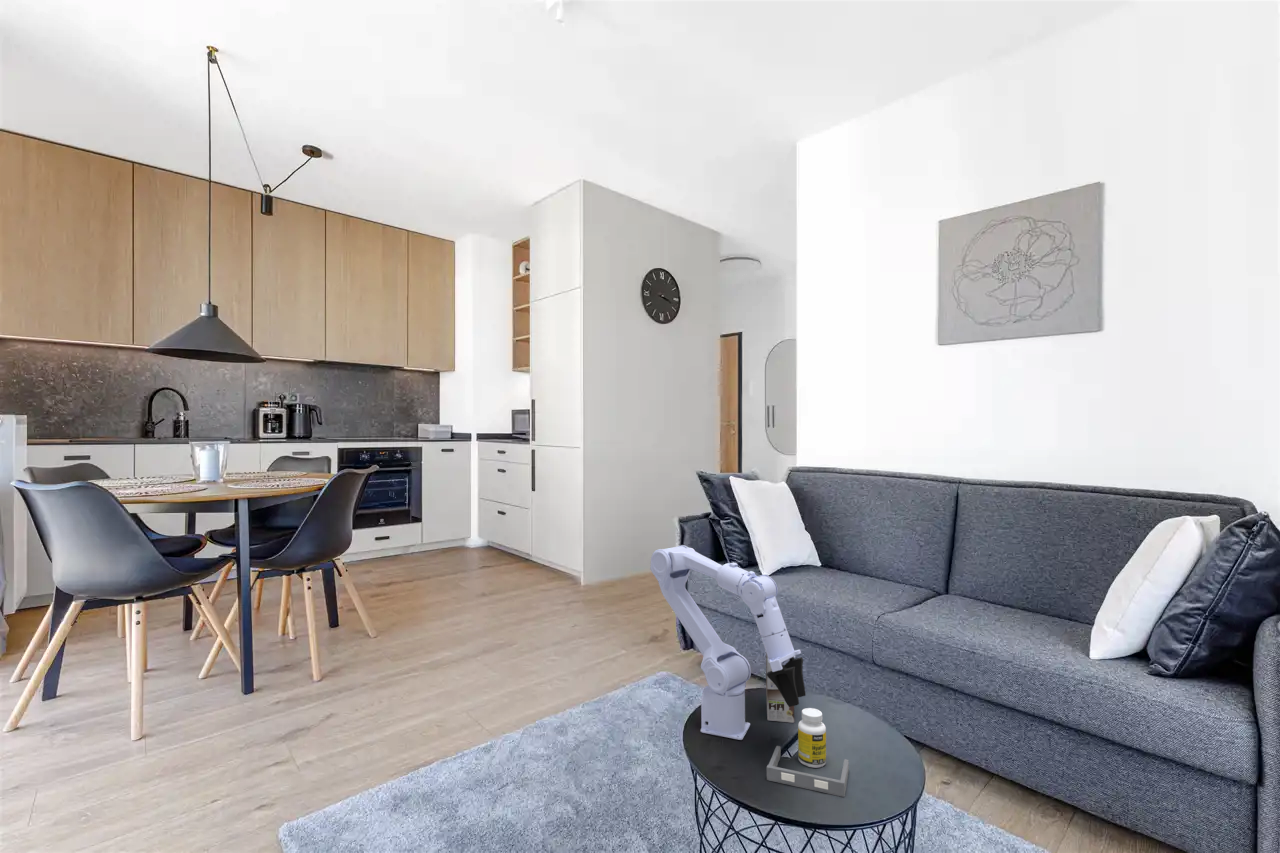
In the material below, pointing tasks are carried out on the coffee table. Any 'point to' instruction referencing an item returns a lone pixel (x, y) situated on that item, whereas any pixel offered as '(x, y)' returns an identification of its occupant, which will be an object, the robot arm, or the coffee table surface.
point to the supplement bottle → (812, 739)
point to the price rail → (807, 777)
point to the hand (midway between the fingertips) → (797, 700)
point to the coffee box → (776, 701)
